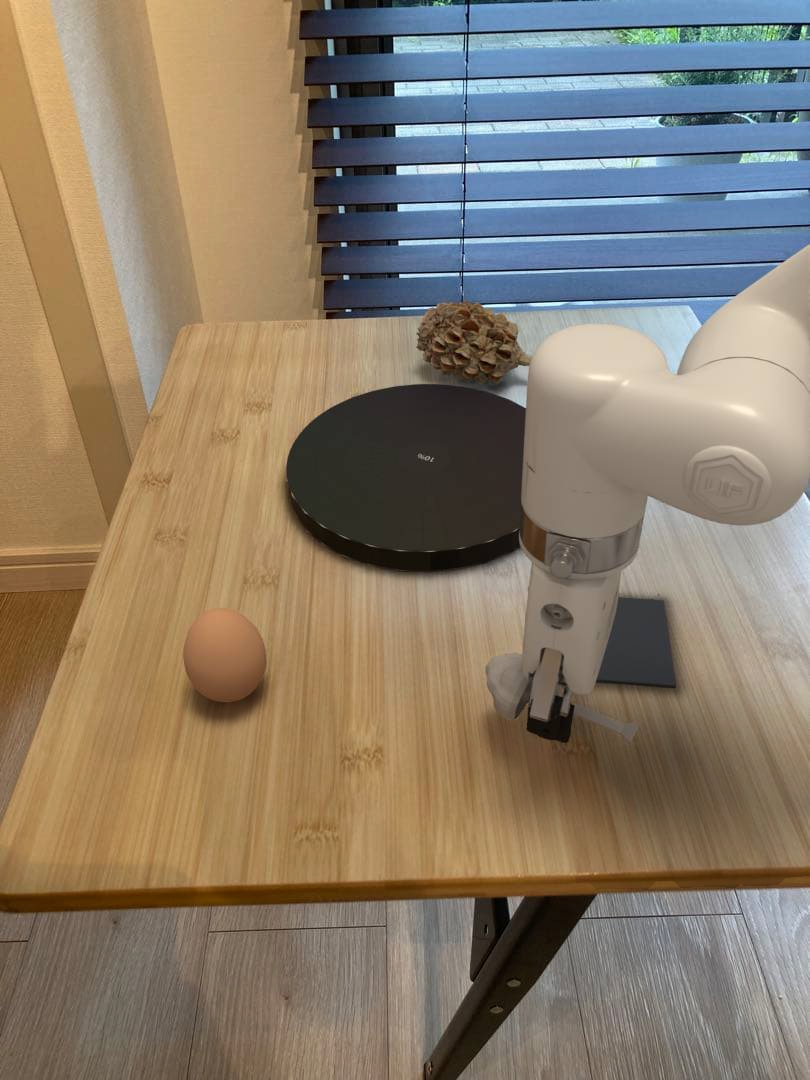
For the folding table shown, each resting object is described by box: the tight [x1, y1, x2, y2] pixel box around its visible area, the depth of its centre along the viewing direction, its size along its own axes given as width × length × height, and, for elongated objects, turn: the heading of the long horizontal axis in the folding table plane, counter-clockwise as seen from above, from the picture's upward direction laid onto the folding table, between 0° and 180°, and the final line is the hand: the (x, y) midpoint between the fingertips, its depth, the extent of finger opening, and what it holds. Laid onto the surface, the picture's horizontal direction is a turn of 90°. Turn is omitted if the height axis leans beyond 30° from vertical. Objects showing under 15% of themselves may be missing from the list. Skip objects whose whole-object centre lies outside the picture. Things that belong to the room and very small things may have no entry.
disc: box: [285, 383, 526, 572], centre depth 92 cm, size 30×30×3 cm
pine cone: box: [415, 300, 533, 386], centre depth 104 cm, size 22×10×10 cm, turn 74°
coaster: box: [596, 596, 677, 688], centre depth 75 cm, size 10×10×1 cm
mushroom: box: [485, 652, 640, 746], centre depth 64 cm, size 7×5×12 cm
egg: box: [182, 607, 267, 703], centre depth 69 cm, size 7×7×9 cm
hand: (559, 699), depth 65 cm, fingers closed on mushroom, 5 cm apart
